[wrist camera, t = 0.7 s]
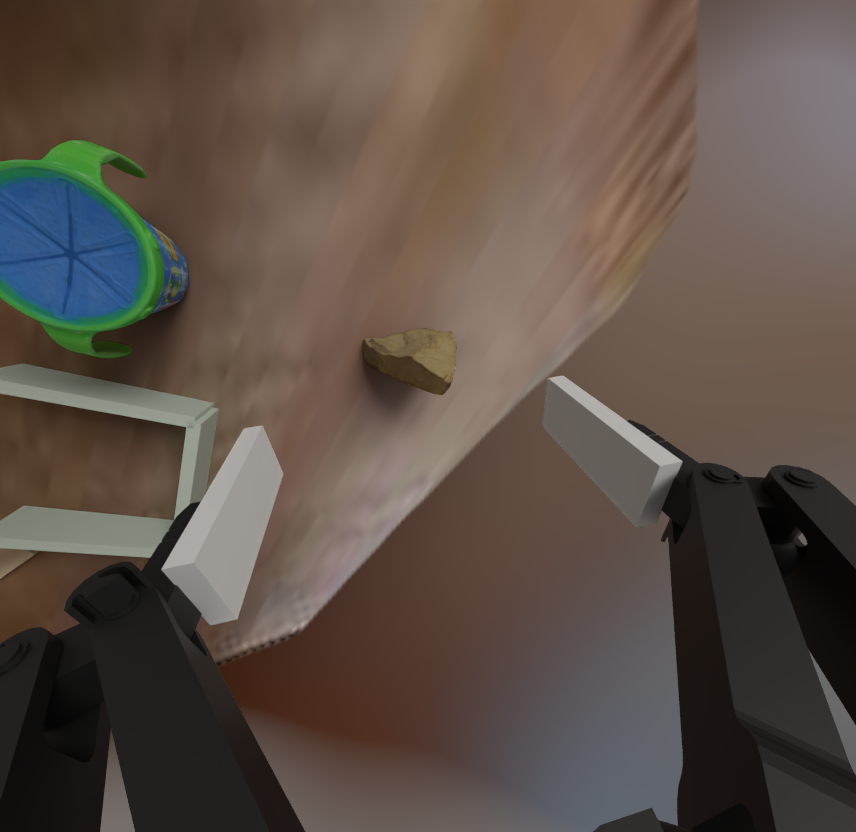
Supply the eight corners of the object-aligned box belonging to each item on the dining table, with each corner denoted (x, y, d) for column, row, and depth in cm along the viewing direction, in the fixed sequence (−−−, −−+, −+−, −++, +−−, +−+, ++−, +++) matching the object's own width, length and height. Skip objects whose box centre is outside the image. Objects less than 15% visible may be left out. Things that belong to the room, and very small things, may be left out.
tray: (24, 514, 35) (-24, 546, 30) (23, 363, 31) (-33, 373, 26) (199, 530, 40) (181, 559, 36) (220, 404, 36) (201, 418, 32)
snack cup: (93, 148, 27) (-37, 67, 18) (229, 214, 31) (179, 176, 22) (63, 321, 30) (-61, 329, 21) (189, 363, 34) (131, 385, 25)
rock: (343, 377, 36) (419, 416, 39) (359, 339, 29) (451, 390, 31) (380, 311, 41) (445, 350, 43) (401, 264, 34) (478, 314, 36)
